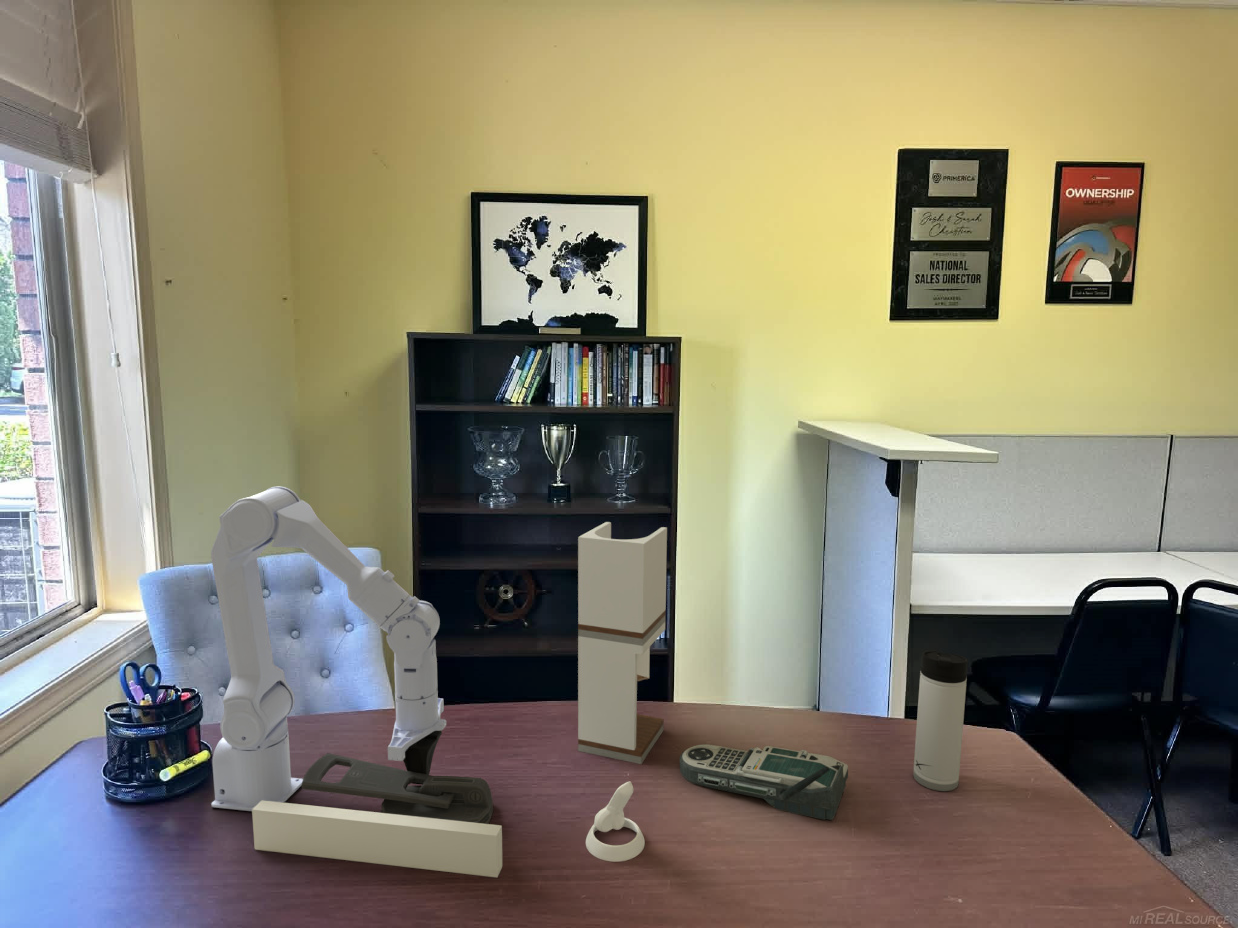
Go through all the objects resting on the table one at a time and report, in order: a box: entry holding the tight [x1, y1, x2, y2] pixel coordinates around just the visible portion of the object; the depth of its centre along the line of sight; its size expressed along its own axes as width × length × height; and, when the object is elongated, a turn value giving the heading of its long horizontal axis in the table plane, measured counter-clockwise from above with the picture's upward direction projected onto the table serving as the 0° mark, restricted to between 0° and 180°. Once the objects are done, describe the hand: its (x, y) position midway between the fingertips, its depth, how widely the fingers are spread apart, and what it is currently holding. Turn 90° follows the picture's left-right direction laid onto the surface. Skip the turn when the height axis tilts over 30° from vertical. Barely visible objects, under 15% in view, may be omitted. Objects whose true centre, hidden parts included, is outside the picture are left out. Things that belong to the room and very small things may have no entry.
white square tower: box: [577, 521, 668, 765], centre depth 122 cm, size 11×11×35 cm
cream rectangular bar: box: [251, 800, 503, 878], centre depth 95 cm, size 32×4×6 cm, turn 81°
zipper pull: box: [301, 752, 494, 824], centre depth 103 cm, size 9×7×25 cm
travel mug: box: [912, 650, 968, 792], centre depth 112 cm, size 6×7×20 cm
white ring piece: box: [585, 781, 646, 863], centre depth 96 cm, size 8×12×7 cm
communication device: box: [679, 743, 849, 821], centre depth 111 cm, size 12×24×9 cm, turn 63°
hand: (419, 781), depth 107 cm, fingers closed
